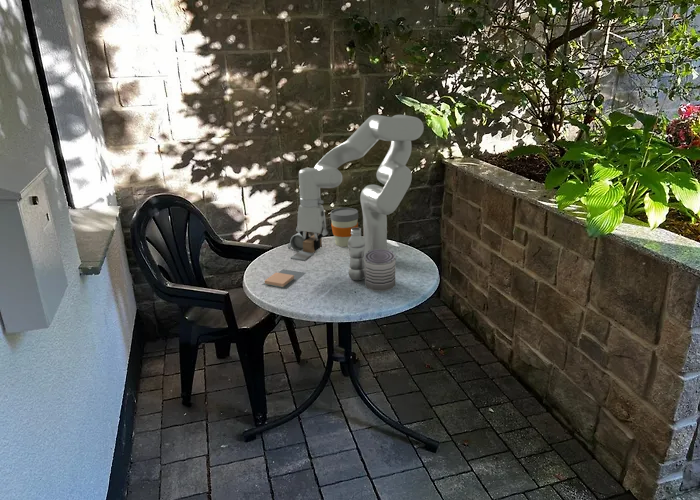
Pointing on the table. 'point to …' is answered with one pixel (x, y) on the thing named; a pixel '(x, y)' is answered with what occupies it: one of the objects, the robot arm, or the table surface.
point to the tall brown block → (306, 249)
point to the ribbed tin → (379, 270)
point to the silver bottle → (356, 255)
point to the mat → (295, 273)
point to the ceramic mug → (297, 242)
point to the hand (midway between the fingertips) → (312, 248)
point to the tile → (279, 279)
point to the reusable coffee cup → (343, 224)
